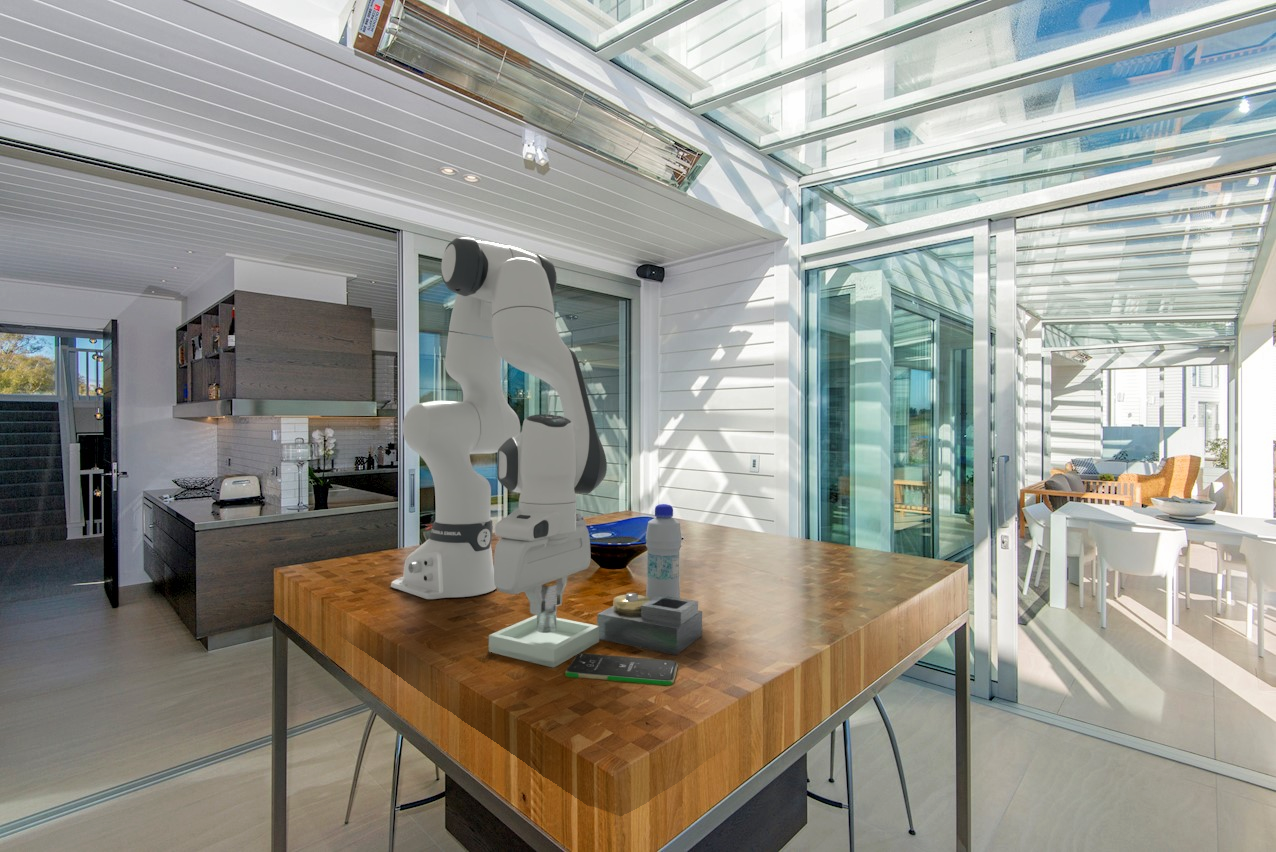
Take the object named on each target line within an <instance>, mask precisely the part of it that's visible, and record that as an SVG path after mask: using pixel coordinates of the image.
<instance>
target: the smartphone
mask: <svg viewBox="0 0 1276 852" xmlns="http://www.w3.org/2000/svg"><path fill="white" fill-rule="evenodd" d="M678 667H679V665H678V662H677V661H676V660H671V659H660V658H658V659H657V658H646V657H645V658H644V657H634V656H632V657H631V656H622V655H611V654H610V655H609V654H606V655H605V654H599V653H598V654H597V653H582V652H581V653H579V654H577V655H575V657H574V659H573V660H572V661H571V663H570V664H569V666H568V667H567V668H566V670H565V674H564V675H565V676H566V677H568V678H576V679H577V678H582V679H594V680H603V681H612V682H613V681H614V682H625V683H634V684H635V683H636V684H647V685H656V686H660V685H661V686H671V685H674V682H675V679H676V676H677V671H678Z"/></svg>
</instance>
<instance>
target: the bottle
mask: <svg viewBox="0 0 1276 852" xmlns="http://www.w3.org/2000/svg"><path fill="white" fill-rule="evenodd" d="M673 517H674V508H673V506H672V505H670V504H667V503H666V504H665V503H662V504H661V503H660V504H658V505H655V507H654V518H652V519H650V520H649V521H648V522H647V527H646V534H645V541H646V543H645V547H646V549H647V559H646V560H647V562H646V563H647V566H646V569H647V570H646V571H647V573H646V575H647V576H646V577H647V580H646V589H645V590H646V591H645V592H646V593H645V596H646V597H648V598H649V599H650V601H651V600H652V599H654V598H656V597H658V596H660V595H662V596H668V597H675V598H681V592H680V591H681V588H680V550H681V547H682V539H683V537H682V530H681V524H680V521H678V520H677V519H675V518H673Z"/></svg>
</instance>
